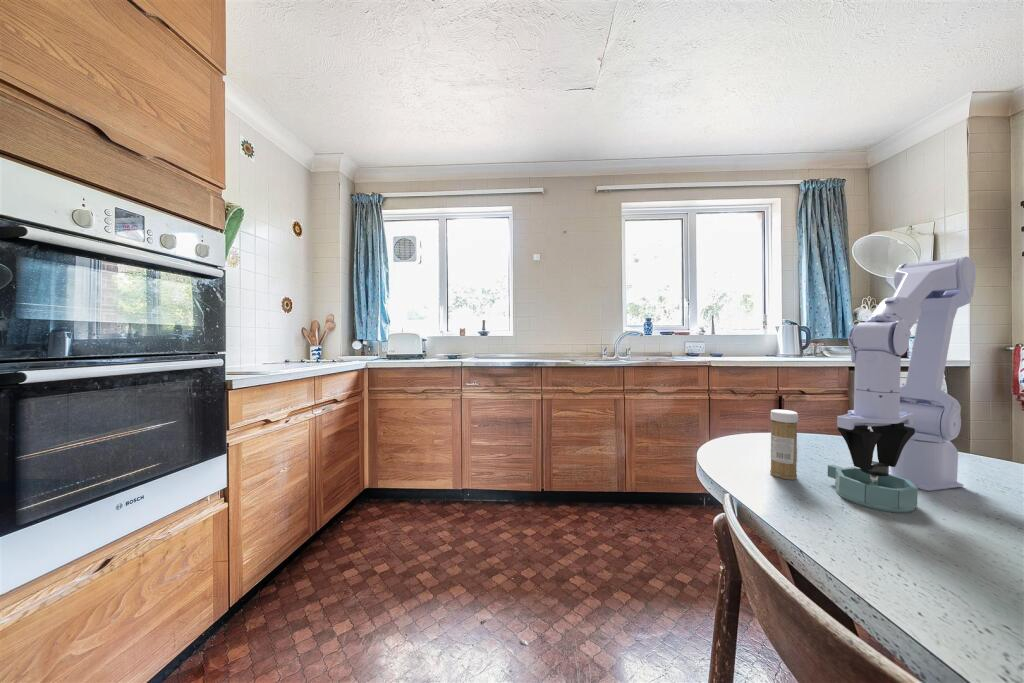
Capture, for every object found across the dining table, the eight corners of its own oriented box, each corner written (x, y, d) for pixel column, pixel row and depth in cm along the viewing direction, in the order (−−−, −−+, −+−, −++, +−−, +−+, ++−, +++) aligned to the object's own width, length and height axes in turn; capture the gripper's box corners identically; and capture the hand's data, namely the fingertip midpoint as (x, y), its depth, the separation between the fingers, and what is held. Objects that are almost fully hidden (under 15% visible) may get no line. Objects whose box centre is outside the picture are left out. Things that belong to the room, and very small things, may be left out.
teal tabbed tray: (850, 480, 74) (850, 461, 74) (931, 509, 62) (932, 487, 62) (809, 484, 72) (810, 465, 72) (885, 515, 60) (885, 492, 60)
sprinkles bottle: (800, 477, 76) (802, 411, 75) (791, 482, 73) (792, 414, 73) (775, 470, 79) (776, 407, 79) (765, 474, 77) (766, 410, 76)
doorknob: (866, 483, 70) (866, 455, 70) (914, 500, 63) (915, 469, 63) (835, 486, 68) (836, 458, 68) (881, 504, 61) (882, 473, 61)
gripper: (881, 385, 71) (879, 455, 71) (820, 388, 68) (818, 461, 68) (929, 391, 64) (927, 469, 64) (864, 395, 61) (862, 476, 61)
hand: (874, 466), depth 66 cm, fingers open, 5 cm apart
